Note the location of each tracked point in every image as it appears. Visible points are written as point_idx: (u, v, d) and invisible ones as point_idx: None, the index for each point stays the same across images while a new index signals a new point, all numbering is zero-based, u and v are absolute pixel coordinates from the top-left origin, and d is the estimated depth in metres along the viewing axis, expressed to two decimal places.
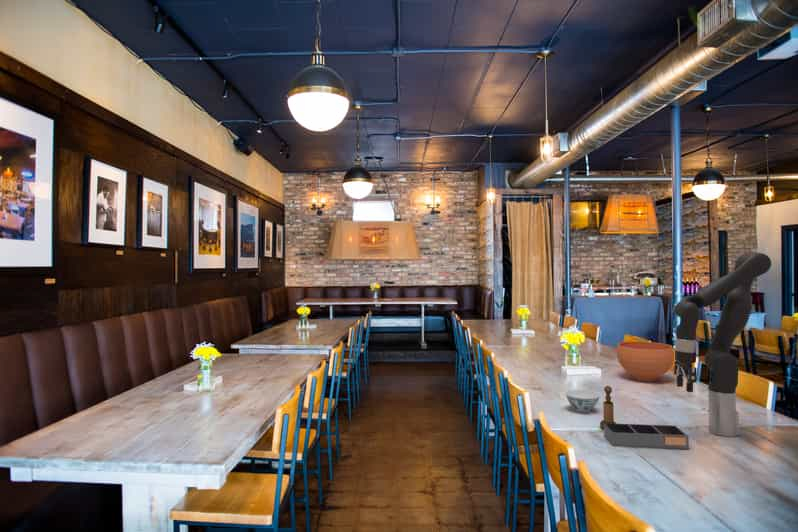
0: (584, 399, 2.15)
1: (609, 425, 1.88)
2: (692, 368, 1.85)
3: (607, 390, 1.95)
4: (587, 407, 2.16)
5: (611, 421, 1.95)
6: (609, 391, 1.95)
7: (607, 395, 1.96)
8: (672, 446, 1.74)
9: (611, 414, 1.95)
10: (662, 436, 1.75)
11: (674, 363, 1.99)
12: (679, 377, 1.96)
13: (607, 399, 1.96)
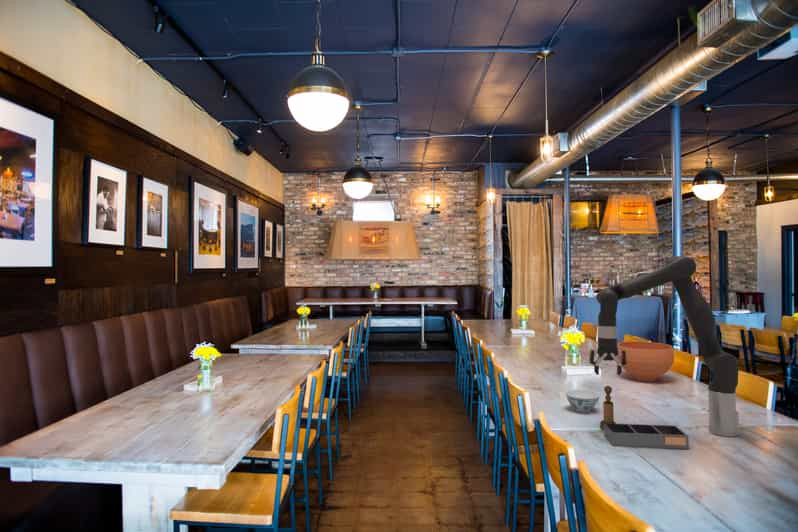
0: (584, 399, 2.15)
1: (609, 425, 1.88)
2: None
3: (607, 390, 1.95)
4: (587, 407, 2.16)
5: (611, 421, 1.95)
6: (609, 391, 1.95)
7: (607, 395, 1.96)
8: (672, 446, 1.74)
9: (611, 414, 1.95)
10: (662, 436, 1.75)
11: (591, 353, 1.96)
12: None
13: (607, 399, 1.96)
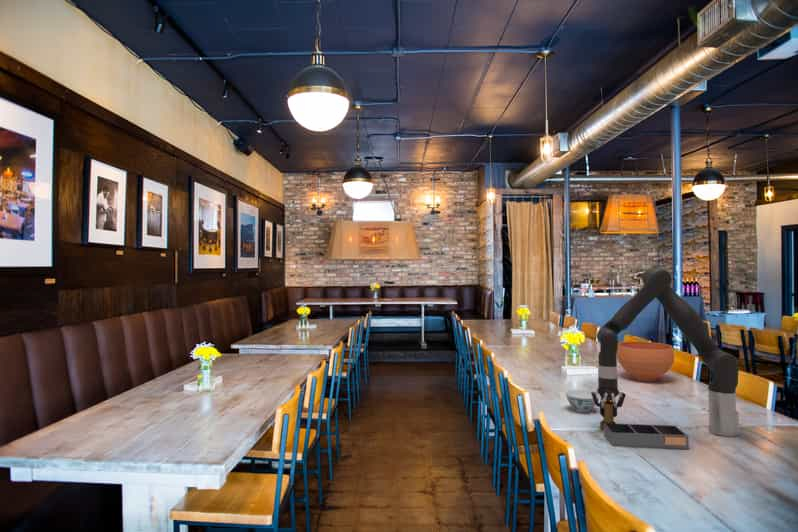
0: (584, 399, 2.15)
1: (609, 425, 1.88)
2: None
3: (607, 390, 1.95)
4: (587, 407, 2.16)
5: (611, 421, 1.95)
6: (609, 391, 1.95)
7: None
8: (672, 446, 1.74)
9: (611, 414, 1.95)
10: (662, 436, 1.75)
11: (593, 396, 1.96)
12: (603, 406, 1.97)
13: None
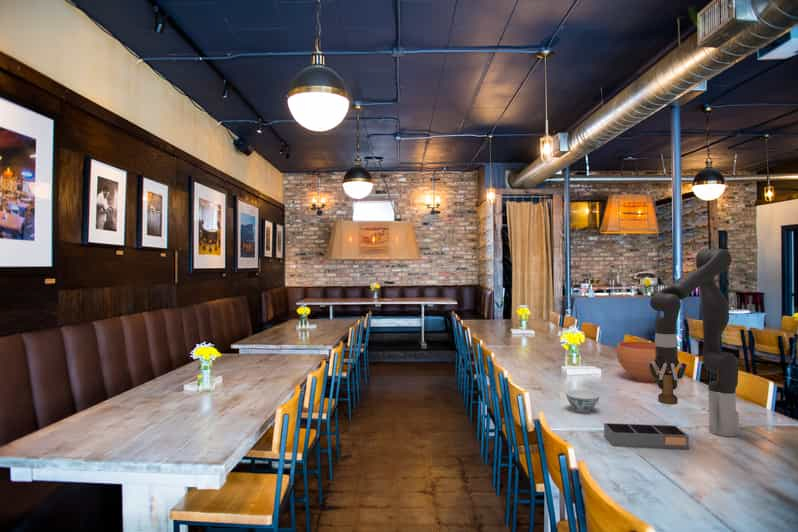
0: (584, 399, 2.15)
1: (609, 425, 1.88)
2: None
3: (666, 360, 1.79)
4: (587, 407, 2.16)
5: (671, 394, 1.78)
6: (668, 361, 1.79)
7: None
8: (672, 446, 1.74)
9: (671, 386, 1.78)
10: (662, 436, 1.75)
11: (650, 367, 1.80)
12: None
13: None
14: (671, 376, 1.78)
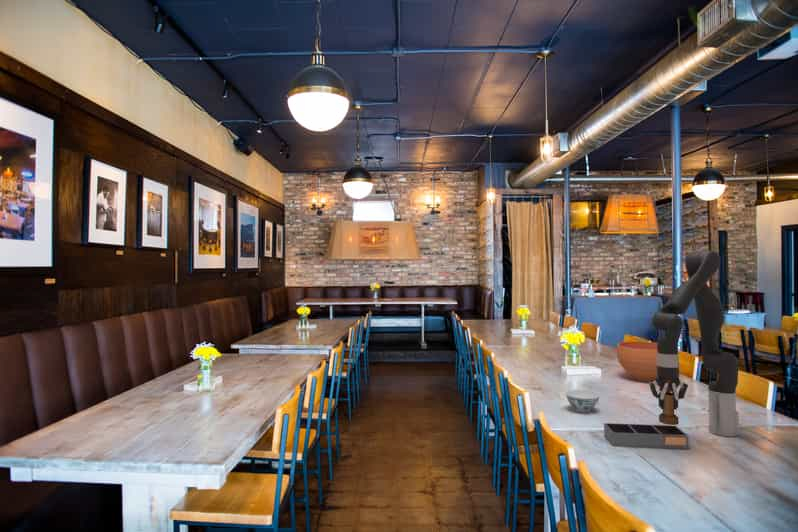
0: (584, 399, 2.15)
1: (609, 425, 1.88)
2: None
3: (667, 380, 1.79)
4: (587, 407, 2.16)
5: (672, 414, 1.78)
6: (670, 381, 1.78)
7: None
8: (672, 446, 1.74)
9: (672, 406, 1.78)
10: (662, 436, 1.75)
11: (651, 386, 1.80)
12: None
13: None
14: (672, 396, 1.78)
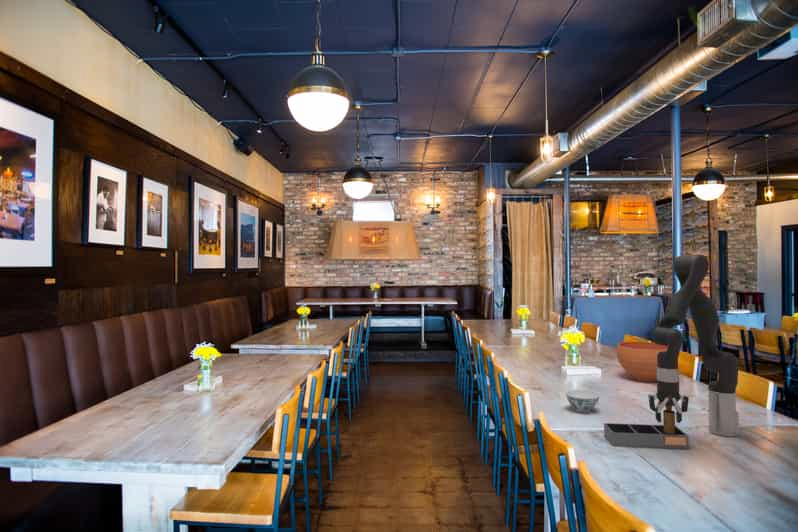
0: (584, 399, 2.15)
1: (609, 425, 1.88)
2: None
3: (668, 398, 1.79)
4: (587, 407, 2.16)
5: (673, 432, 1.78)
6: (670, 399, 1.78)
7: None
8: (672, 446, 1.74)
9: (673, 424, 1.78)
10: (662, 436, 1.75)
11: (650, 399, 1.80)
12: None
13: (668, 408, 1.79)
14: (673, 414, 1.78)
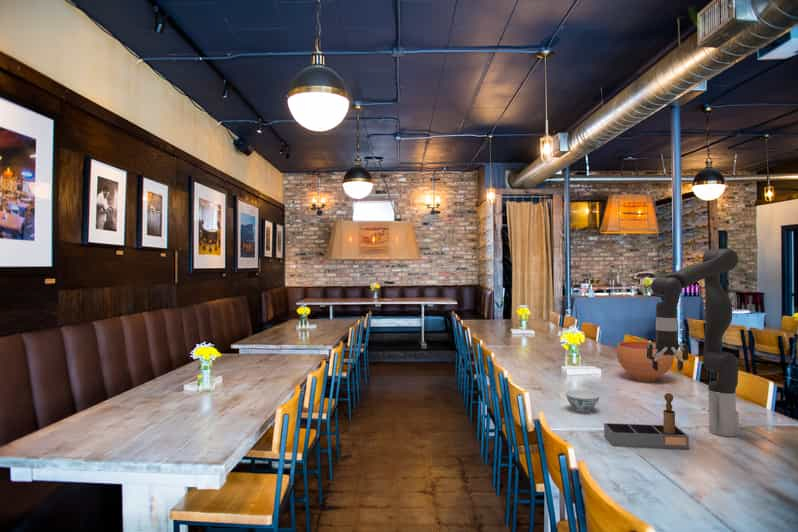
0: (584, 399, 2.15)
1: (609, 425, 1.88)
2: None
3: (668, 398, 1.79)
4: (587, 407, 2.16)
5: (673, 432, 1.78)
6: (670, 399, 1.78)
7: (668, 403, 1.79)
8: (672, 446, 1.74)
9: (673, 424, 1.78)
10: (662, 436, 1.75)
11: (649, 347, 1.80)
12: None
13: (668, 408, 1.79)
14: (673, 414, 1.78)
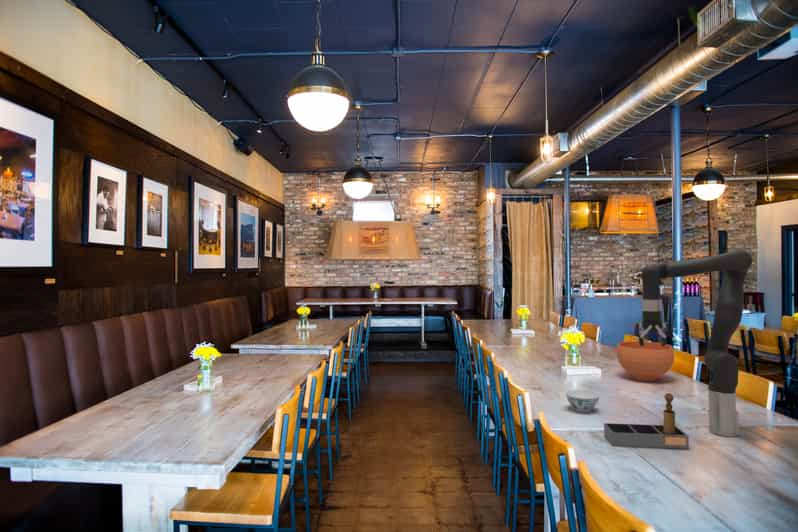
0: (584, 399, 2.15)
1: (609, 425, 1.88)
2: None
3: (668, 398, 1.78)
4: (587, 407, 2.16)
5: (673, 432, 1.78)
6: (670, 399, 1.78)
7: (668, 403, 1.79)
8: (672, 446, 1.74)
9: (673, 424, 1.78)
10: (662, 436, 1.75)
11: (636, 325, 2.05)
12: None
13: (668, 408, 1.79)
14: (673, 414, 1.78)
